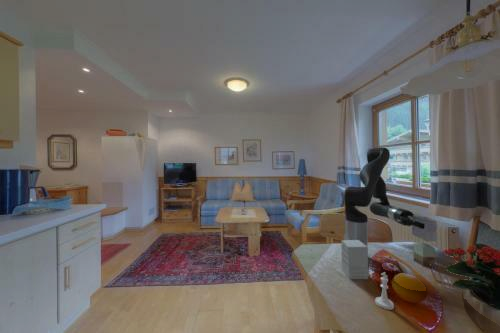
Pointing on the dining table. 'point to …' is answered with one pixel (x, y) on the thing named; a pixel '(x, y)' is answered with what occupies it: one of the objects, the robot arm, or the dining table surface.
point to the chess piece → (384, 295)
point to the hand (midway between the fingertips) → (429, 226)
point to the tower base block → (424, 260)
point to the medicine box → (425, 229)
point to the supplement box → (354, 259)
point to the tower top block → (424, 250)
